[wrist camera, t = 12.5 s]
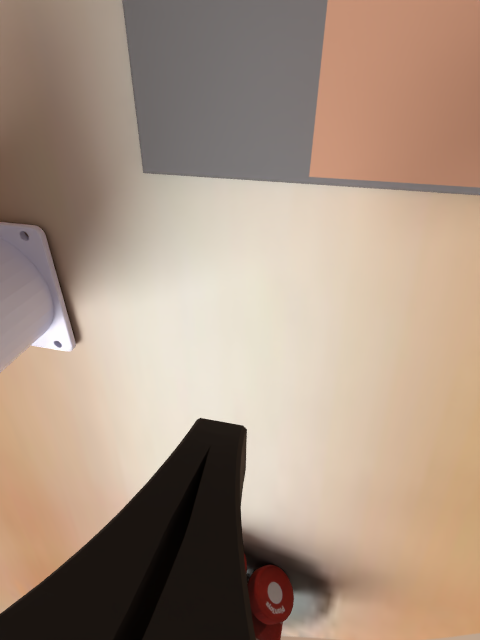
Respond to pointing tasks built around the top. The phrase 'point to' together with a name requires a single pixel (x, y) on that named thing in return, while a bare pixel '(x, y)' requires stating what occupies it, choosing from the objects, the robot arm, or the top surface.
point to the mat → (232, 89)
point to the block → (399, 92)
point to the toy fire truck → (269, 601)
